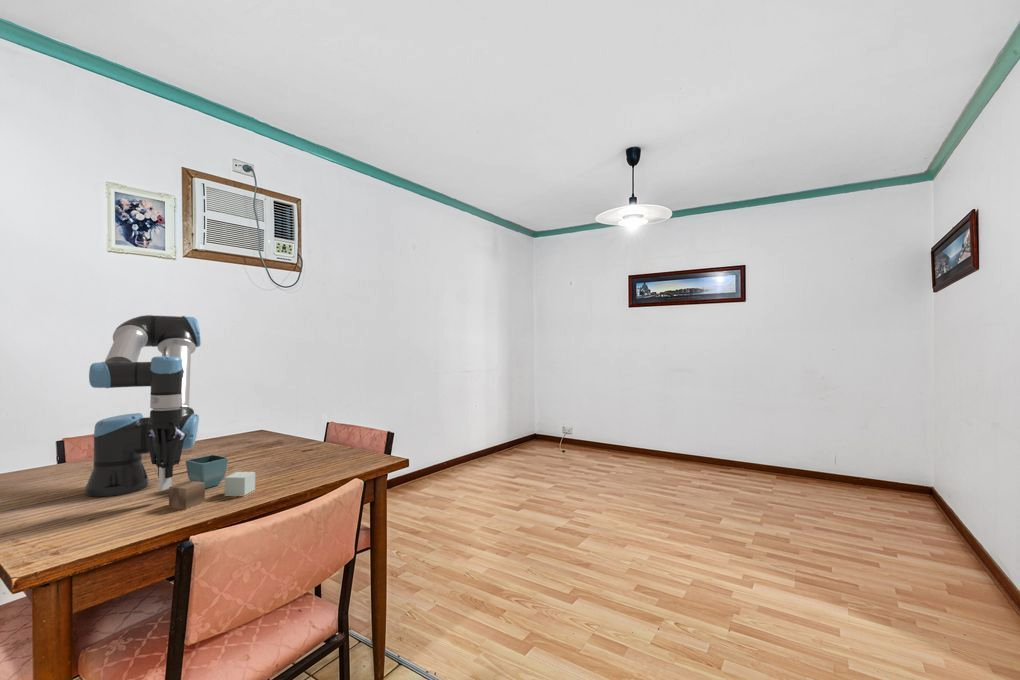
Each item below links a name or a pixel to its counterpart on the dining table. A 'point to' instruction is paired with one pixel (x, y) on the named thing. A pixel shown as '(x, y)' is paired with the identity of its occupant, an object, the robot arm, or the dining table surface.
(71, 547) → the dining table surface
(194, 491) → the walnut block
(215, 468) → the flower pot
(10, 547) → the dining table surface
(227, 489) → the grey-green block
